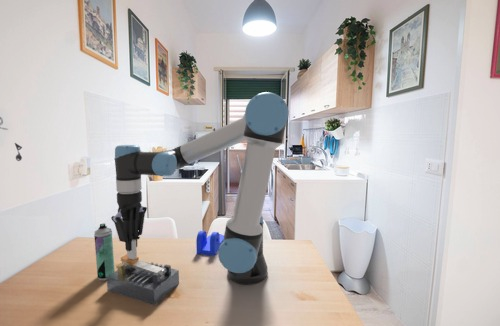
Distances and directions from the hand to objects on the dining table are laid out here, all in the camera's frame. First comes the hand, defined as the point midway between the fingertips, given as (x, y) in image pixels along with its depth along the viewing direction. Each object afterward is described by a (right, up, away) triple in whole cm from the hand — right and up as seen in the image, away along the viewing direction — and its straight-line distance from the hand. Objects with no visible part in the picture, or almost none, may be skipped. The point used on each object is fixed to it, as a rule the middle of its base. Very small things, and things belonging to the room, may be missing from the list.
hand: (132, 257), depth 86 cm
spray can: (-12, -9, +6) cm, 17 cm away
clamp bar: (+4, -3, -1) cm, 6 cm away
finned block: (+4, -10, 0) cm, 11 cm away
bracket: (+23, -6, +31) cm, 39 cm away
